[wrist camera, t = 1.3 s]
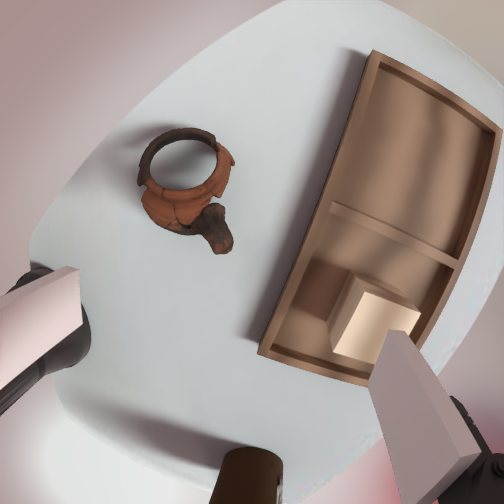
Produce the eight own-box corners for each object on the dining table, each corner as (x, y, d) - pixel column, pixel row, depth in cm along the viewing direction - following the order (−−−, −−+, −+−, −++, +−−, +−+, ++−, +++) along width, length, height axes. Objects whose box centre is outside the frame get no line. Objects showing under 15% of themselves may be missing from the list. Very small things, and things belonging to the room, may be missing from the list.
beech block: (326, 321, 29) (332, 352, 23) (350, 270, 28) (364, 291, 22) (373, 337, 29) (388, 368, 23) (399, 289, 28) (421, 313, 22)
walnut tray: (259, 343, 31) (256, 354, 29) (367, 57, 23) (372, 49, 21) (386, 382, 31) (390, 393, 29) (492, 132, 22) (502, 130, 20)
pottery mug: (136, 198, 30) (111, 158, 22) (205, 152, 32) (200, 103, 24) (199, 285, 28) (186, 267, 20) (273, 229, 30) (288, 192, 22)
